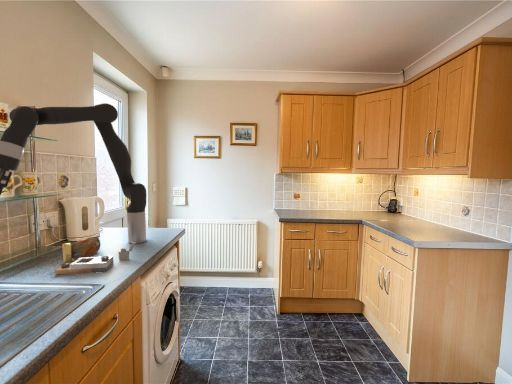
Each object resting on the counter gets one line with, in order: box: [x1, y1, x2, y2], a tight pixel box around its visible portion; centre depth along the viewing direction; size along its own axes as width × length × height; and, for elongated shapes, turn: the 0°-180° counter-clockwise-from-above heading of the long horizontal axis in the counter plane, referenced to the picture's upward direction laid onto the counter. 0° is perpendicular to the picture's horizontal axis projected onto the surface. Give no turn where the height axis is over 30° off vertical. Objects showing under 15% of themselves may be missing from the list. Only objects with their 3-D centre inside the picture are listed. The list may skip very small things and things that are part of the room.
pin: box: [61, 242, 73, 263], centre depth 110 cm, size 3×3×9 cm
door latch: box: [54, 255, 115, 275], centre depth 104 cm, size 8×18×5 cm, turn 99°
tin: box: [71, 236, 101, 260], centre depth 119 cm, size 15×3×8 cm, turn 168°
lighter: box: [118, 242, 137, 261], centre depth 115 cm, size 7×2×8 cm, turn 105°
